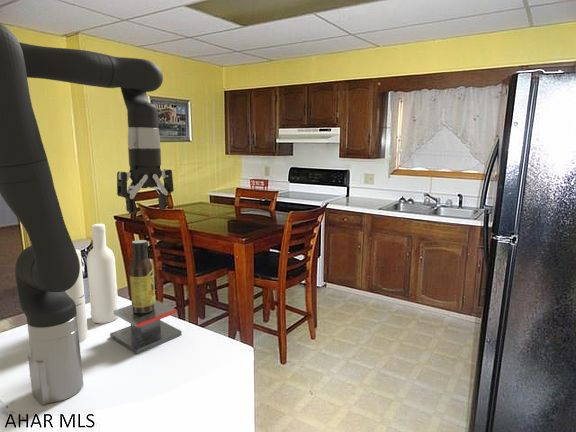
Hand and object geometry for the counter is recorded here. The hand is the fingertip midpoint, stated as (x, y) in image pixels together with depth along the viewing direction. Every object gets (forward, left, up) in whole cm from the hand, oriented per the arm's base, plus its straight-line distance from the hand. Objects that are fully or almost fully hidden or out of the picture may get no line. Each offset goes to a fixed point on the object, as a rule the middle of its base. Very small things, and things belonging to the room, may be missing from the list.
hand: (147, 211), depth 101 cm
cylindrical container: (-12, +21, -38) cm, 45 cm away
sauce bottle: (+1, +7, -30) cm, 30 cm away
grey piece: (+2, +7, -37) cm, 38 cm away
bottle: (0, +27, -38) cm, 46 cm away
